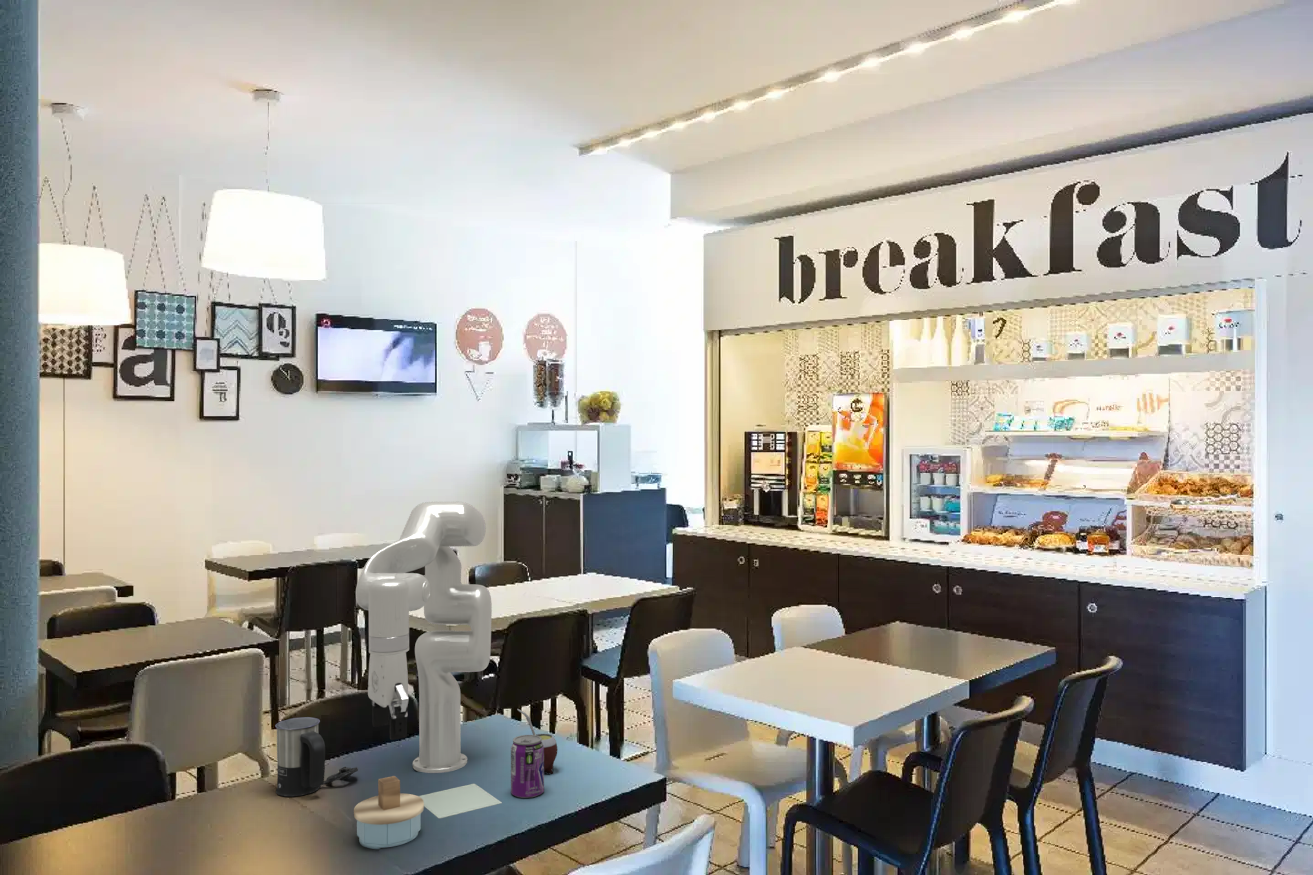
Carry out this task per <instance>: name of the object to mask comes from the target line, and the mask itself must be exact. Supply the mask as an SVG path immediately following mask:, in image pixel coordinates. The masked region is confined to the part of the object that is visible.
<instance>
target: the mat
mask: <svg viewBox="0 0 1313 875" xmlns="http://www.w3.org/2000/svg"><path fill="white" fill-rule="evenodd" d="M417 796H418V797H420V798H422V799H423V801H424V809H427V811H429V812H430V813H431V814H433V815H434V816H435V817H436V818H437V819H439V820H440V819H445V818H447V817H452V816H457V815H459V814H464V813H468V812H471V811H475V810H480V809H484V808H488V807H492V806H496V805H500V804H503V802H502V801H500V800H499V799H497V798H496V797H494V796H493V795H491V794H490V793H489V792H488V791H486V790H484V789H483V788H482V787H480V786H478V785H477V784H476V783H471V784H468V785H467V784H466V785H462V786H457V787H453V788H449V789H444V790H440V791H434V792H431V793H430V792H429V793H427V794H422V795H417Z"/></svg>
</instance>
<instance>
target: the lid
mask: <svg viewBox="0 0 1313 875" xmlns="http://www.w3.org/2000/svg"><path fill="white" fill-rule="evenodd" d="M377 783H378V785H377V786H378V787H377V788H378V790H377V792H378V793H377V795H375V796H371V797H368V798H366V799H363V800H362V801H360V802H358V803H357V804H356V805H355V806H354V808H353V818H354V819H355V820H356V821H357V820H358V821H360V822H362V823H367V824H376V825H382V824H393V823H398V822H403V821H406V820H409V819H412V818H414V817H416V816H418V815H419V814H420V813H421V814H422V813H423V812H424V809H425V807H424V801H423V799H422V798H420V797H418V796H419V795H415V794H412V793H411V794H410V793H403V792H402V793H401V780H400V779H399V778H398V777H396V776H395V775H392V776H388V777H387V776H386V777H382V778H378V781H377Z"/></svg>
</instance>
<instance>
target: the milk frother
mask: <svg viewBox="0 0 1313 875" xmlns="http://www.w3.org/2000/svg"><path fill="white" fill-rule="evenodd" d="M320 722H321V720H320V719H319V718H316V717H309V716H307V717H293V718H288V719H285V720H281V721H279V722H277V723H276V724H275V728H276V759H277V760H276V761H277V762H276V763H277V764H276V766H277V773H276V774H277V781H276V782H277V784H276V790H275V793H276V794H277V795H278V796H280V797H298V796H299V797H301V796H306V795H309V794H312V793H315V792H317V791H318V790H319V789H321V786H322V785H326V784H329V783H331V782H333V781H334V782H335V781H336V780H339V779H341V780H346V779H348V778H349V777H351V775H354V773H356V772H359V768H358V767H357V766H356V767H352V768H351V767H347V766H343V767H341V768H339V769H338V771H337V772H336V773H334V774H331V775H329V776H328V777H327V778H326V779H325V770H326V769H325V768H326V767H325V766H326V745H325V741H324V739H323V737H322V735H321V734H319V724H320Z"/></svg>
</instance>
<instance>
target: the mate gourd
mask: <svg viewBox="0 0 1313 875" xmlns="http://www.w3.org/2000/svg"><path fill="white" fill-rule="evenodd" d="M516 710H517V711H518V712H519V713H521V714H522V715H523V716H524V717H525V719H526V721H527V722H528V725H529V728H530V730H531V733H532V735H537V736H540V737H541V738H542V741H541V742H542V744H543V746H544V774H547V773H548V775H554V770H553V768H554V763H555V760H556V758H557V754H558V744H557V740H556V738H555V737H554V735H552V734H549V733H538V734H536V732H535V729H534V727H533V724H532V721H531V717H530V716H529V715H528V714H527V713H526V712H524V711H523V710H521V709H519V708H517V709H516Z"/></svg>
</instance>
